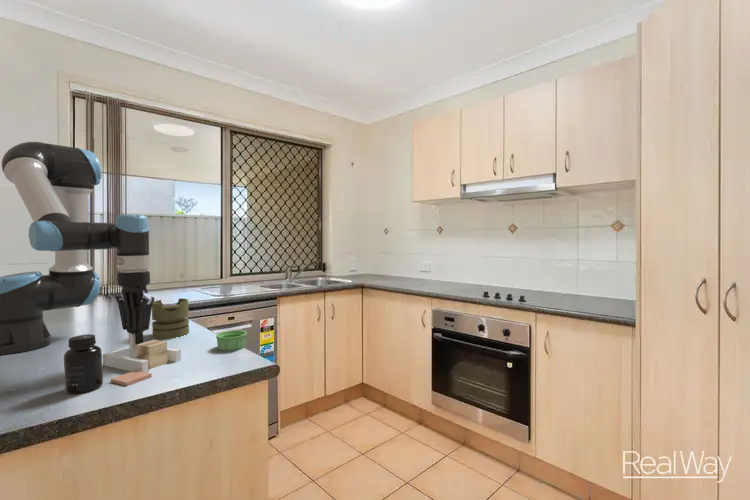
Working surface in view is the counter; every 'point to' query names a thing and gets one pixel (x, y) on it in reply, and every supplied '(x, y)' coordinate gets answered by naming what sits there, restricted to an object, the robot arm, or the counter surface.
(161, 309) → the piston
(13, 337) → the robot arm
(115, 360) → the channel
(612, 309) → the counter surface
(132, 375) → the tile
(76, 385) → the supplement bottle
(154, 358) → the block
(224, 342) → the ramekin
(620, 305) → the counter surface
